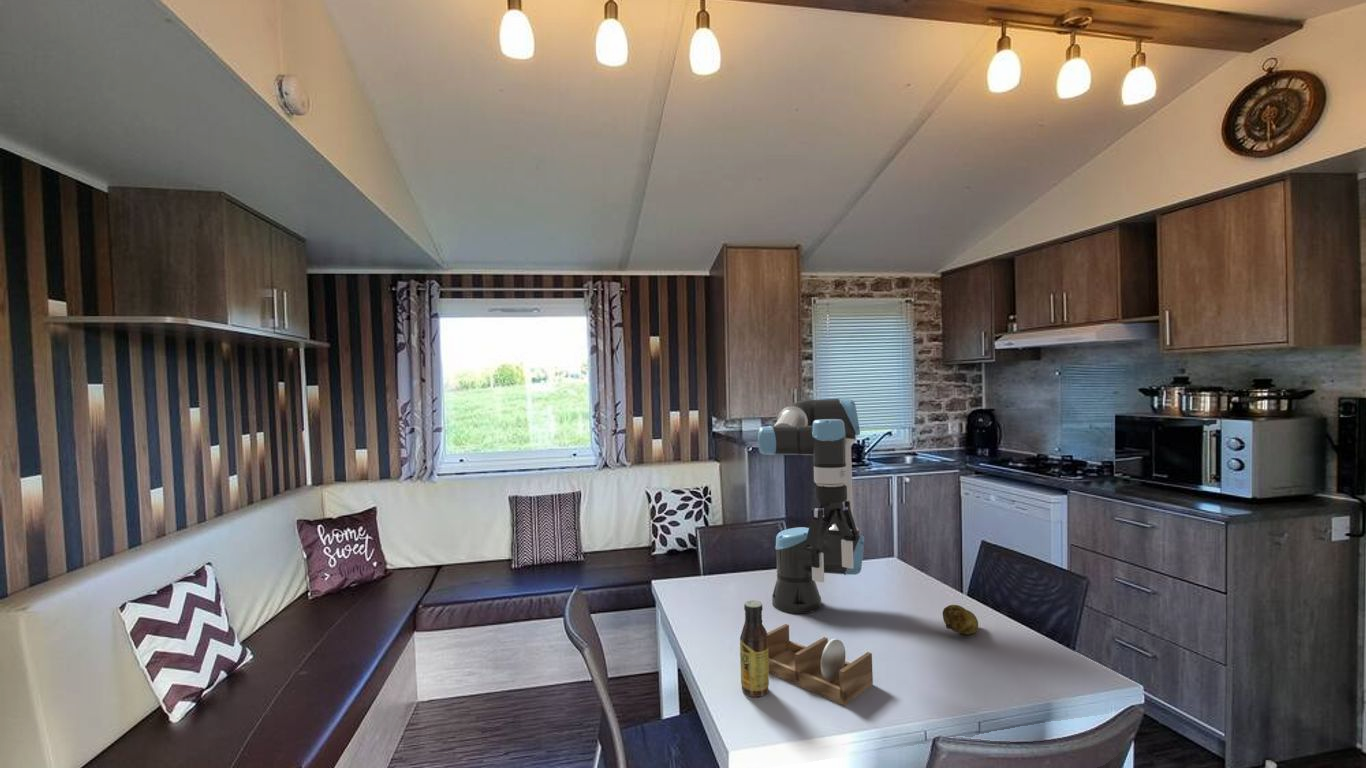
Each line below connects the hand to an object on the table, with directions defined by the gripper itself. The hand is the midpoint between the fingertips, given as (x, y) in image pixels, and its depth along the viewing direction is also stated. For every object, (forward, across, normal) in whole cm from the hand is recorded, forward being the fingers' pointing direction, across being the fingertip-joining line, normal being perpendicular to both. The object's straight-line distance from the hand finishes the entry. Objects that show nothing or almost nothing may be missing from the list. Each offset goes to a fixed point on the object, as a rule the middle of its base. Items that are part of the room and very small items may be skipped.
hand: (833, 574), depth 133 cm
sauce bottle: (+24, -19, +10) cm, 32 cm away
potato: (+23, +42, -14) cm, 50 cm away
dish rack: (+23, -4, +4) cm, 24 cm away
